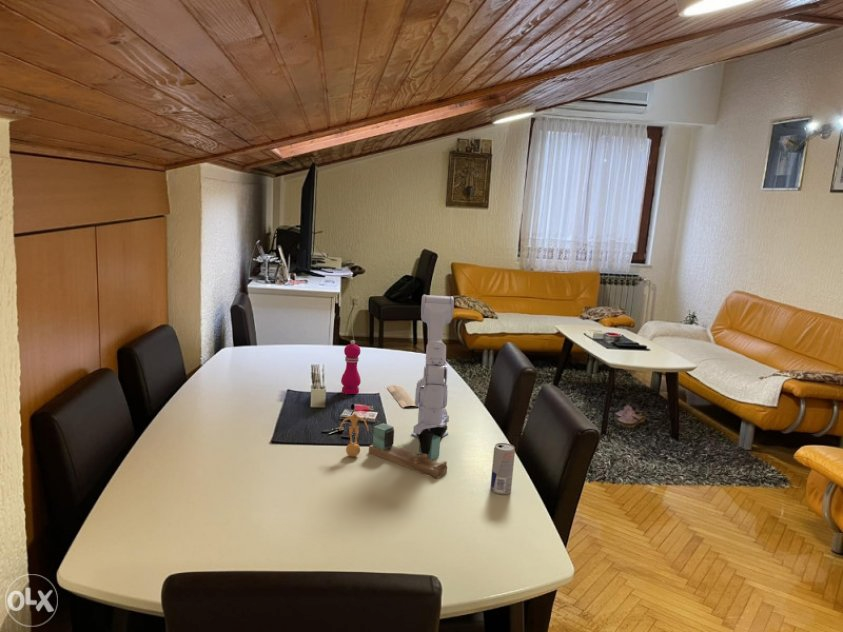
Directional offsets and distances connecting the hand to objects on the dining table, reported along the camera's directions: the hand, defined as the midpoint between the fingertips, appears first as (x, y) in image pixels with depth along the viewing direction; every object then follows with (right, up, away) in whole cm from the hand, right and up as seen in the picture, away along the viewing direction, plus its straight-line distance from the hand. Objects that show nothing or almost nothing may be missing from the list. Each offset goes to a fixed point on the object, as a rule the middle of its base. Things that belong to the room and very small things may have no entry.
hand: (429, 451), depth 182 cm
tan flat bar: (-10, +8, +52) cm, 53 cm away
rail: (-6, -2, -5) cm, 8 cm away
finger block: (0, -2, 0) cm, 2 cm away
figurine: (-22, -1, -2) cm, 22 cm away
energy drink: (+18, -6, -18) cm, 26 cm away
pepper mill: (-29, +10, +54) cm, 62 cm away
